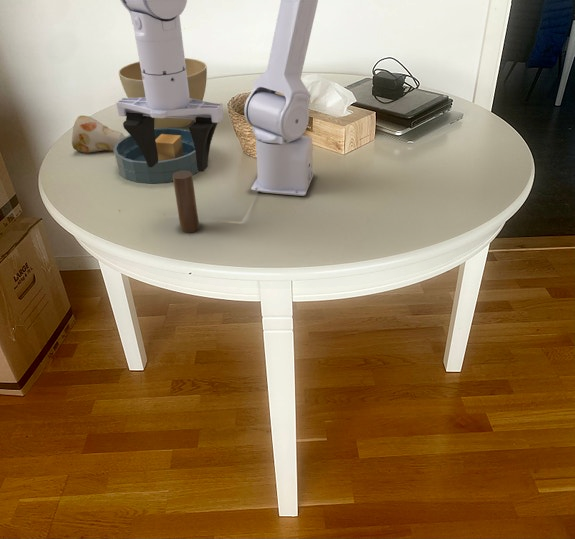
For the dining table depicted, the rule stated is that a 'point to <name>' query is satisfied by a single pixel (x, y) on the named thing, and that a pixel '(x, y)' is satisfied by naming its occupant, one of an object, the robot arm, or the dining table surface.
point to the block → (169, 147)
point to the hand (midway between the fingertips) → (177, 166)
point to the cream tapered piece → (93, 136)
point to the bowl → (137, 169)
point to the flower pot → (196, 85)
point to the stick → (186, 201)
